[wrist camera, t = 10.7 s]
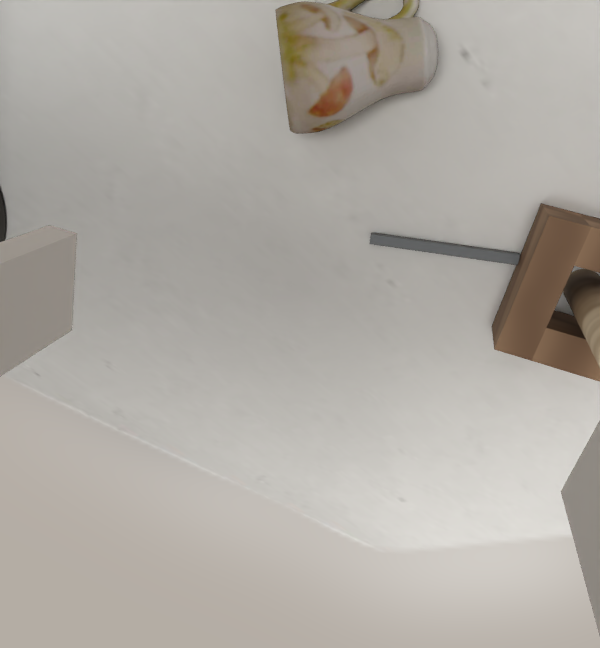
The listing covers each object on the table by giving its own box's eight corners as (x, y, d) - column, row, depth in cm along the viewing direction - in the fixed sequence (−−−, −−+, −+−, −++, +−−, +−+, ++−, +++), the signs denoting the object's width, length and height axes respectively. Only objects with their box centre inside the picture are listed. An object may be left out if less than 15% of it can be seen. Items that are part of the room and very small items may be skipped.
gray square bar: (370, 242, 40) (369, 243, 40) (371, 232, 40) (370, 234, 40) (517, 263, 38) (517, 265, 38) (519, 253, 38) (520, 255, 38)
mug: (456, 107, 36) (364, 161, 30) (336, 97, 42) (239, 140, 36) (461, -30, 32) (355, 3, 26) (326, -21, 38) (215, 8, 32)
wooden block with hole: (491, 326, 40) (494, 349, 37) (541, 203, 37) (549, 215, 33) (622, 365, 39) (638, 393, 35) (687, 241, 35) (712, 259, 32)
